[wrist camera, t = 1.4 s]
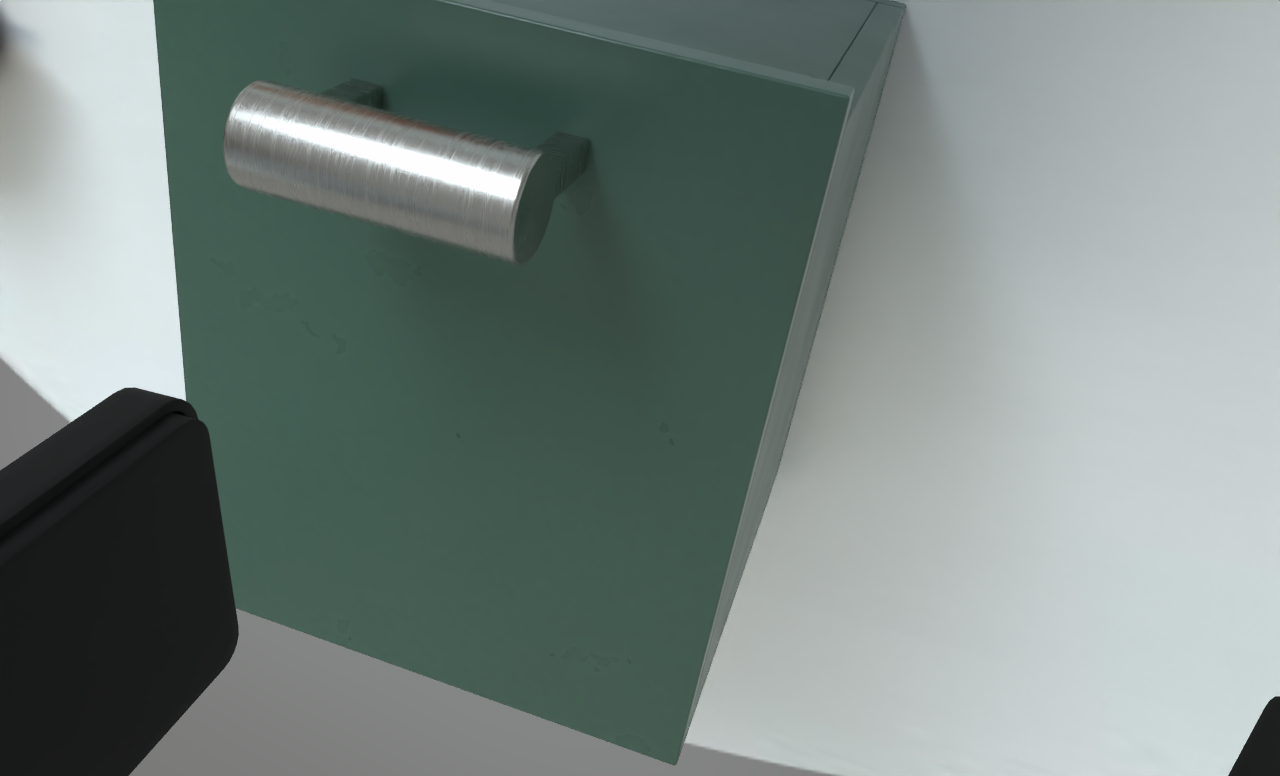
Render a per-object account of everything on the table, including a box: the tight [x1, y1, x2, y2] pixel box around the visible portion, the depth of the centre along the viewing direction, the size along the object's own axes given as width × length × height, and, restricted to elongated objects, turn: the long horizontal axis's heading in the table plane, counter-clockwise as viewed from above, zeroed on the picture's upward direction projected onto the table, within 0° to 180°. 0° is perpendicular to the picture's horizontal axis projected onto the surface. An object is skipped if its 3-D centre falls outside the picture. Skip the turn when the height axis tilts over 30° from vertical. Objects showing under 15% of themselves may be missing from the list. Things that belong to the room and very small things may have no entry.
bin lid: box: [153, 0, 855, 765], centre depth 24 cm, size 18×15×5 cm
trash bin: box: [490, 0, 906, 741], centre depth 32 cm, size 18×15×14 cm
